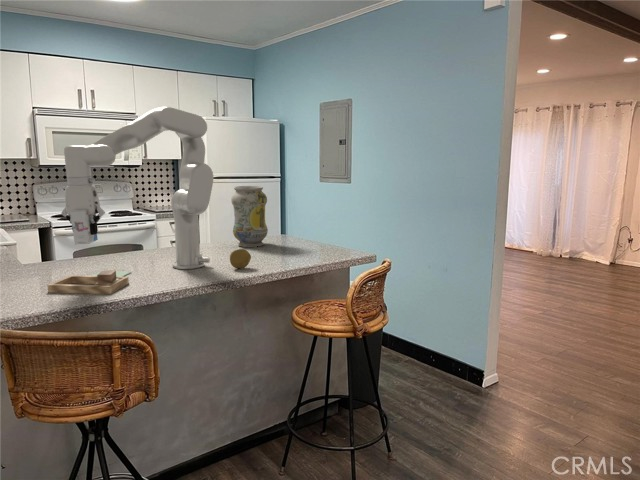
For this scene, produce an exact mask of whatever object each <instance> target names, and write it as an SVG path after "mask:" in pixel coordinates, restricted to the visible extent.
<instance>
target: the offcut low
mask: <svg viewBox="0 0 640 480" xmlns="http://www.w3.org/2000/svg"><path fill="white" fill-rule="evenodd" d="M118 280H120V279H116V280H115V281H114V282H116V281H118ZM114 282H113V283H114ZM110 284H112V283H104V284H98V282H97V283H95V284H94V285H104V286H108V285H110Z"/></svg>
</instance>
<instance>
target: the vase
mask: <svg viewBox="0 0 640 480" xmlns="http://www.w3.org/2000/svg"><path fill="white" fill-rule="evenodd" d="M263 188H264V187H263V186H262V185H261V186H260V185H241V186H240V185H239V186H234V187H233V189H234V191H235V192H234V193H233V194H232V196H231V204H232V206H233V214H234V215H233V217H234V225H233V229H232V234H233V236H234V238H235V239H237V240H238V241H239V242H238V244H237V245H238V246H239V247H242V248H257V246H258V247H262V246H263V245H264V243H263V241H264V240H265V238H266V237H267V236H268V230H269V229H268V226H267V224H266V204H267V202H268V196H267V195H266V193H264V192H263Z"/></svg>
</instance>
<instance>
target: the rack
mask: <svg viewBox="0 0 640 480" xmlns="http://www.w3.org/2000/svg"><path fill="white" fill-rule="evenodd" d="M116 279H120V280H118V281H116V282H114V283H112V284H110V285H108V286H104V285H95V283H97V282H98V280H97V276H91V275H71V274H70V275H68V276H65V277H64V278H61V279H59V280H55V281H54V282H51V283H48V284H47V293H54V294H57V293H59V294H92V295H93V294H97V295H112V294H113V293H115V292H116V291H119V290H120V289H122V288H123V287H126V286H127V285H129V284H130V283H129V276H124V277H116Z"/></svg>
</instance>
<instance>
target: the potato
mask: <svg viewBox="0 0 640 480" xmlns="http://www.w3.org/2000/svg"><path fill="white" fill-rule="evenodd" d="M251 259H252V256H251V254H250V252H249V251H248V250H246V248H245V249H244V248H237V249H235V250H233V251H232V252H231V253H230V254H229V262H230V265H231V266H232V267H233V268H234V269H236V268H243V269H245V268H247V266H248V265H249V264H250V261H251Z"/></svg>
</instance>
